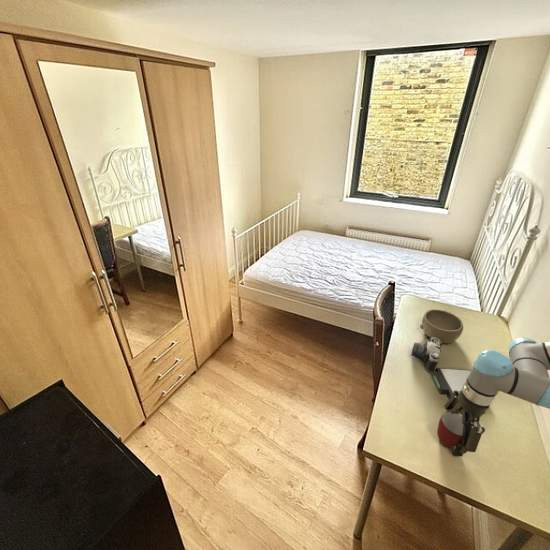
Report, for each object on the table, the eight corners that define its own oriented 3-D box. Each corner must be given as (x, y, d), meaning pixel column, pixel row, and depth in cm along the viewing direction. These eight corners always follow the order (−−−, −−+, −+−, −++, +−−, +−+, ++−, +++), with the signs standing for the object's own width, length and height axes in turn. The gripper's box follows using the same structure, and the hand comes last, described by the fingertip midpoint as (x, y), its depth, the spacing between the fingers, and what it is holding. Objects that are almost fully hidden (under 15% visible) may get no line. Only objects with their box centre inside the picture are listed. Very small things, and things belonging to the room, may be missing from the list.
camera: (412, 344, 137) (417, 327, 133) (436, 351, 133) (443, 334, 129) (409, 366, 125) (415, 349, 120) (435, 375, 121) (442, 357, 116)
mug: (467, 439, 97) (478, 421, 92) (469, 462, 91) (481, 444, 86) (432, 425, 101) (441, 407, 96) (432, 446, 95) (441, 428, 90)
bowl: (413, 336, 142) (419, 320, 137) (424, 319, 154) (430, 304, 149) (452, 353, 132) (460, 336, 128) (461, 334, 144) (468, 318, 140)
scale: (487, 403, 110) (490, 397, 109) (442, 399, 111) (445, 394, 109) (468, 374, 122) (471, 368, 121) (428, 371, 123) (430, 366, 122)
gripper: (447, 367, 94) (427, 412, 106) (481, 428, 76) (453, 474, 88) (470, 369, 94) (448, 414, 105) (511, 431, 76) (479, 476, 87)
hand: (450, 441), depth 96 cm, fingers closed on mug, 8 cm apart
